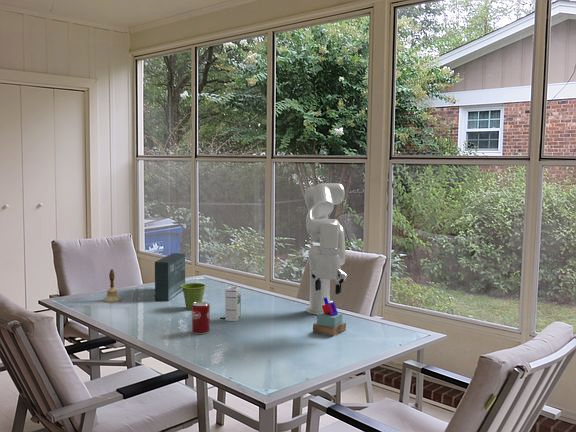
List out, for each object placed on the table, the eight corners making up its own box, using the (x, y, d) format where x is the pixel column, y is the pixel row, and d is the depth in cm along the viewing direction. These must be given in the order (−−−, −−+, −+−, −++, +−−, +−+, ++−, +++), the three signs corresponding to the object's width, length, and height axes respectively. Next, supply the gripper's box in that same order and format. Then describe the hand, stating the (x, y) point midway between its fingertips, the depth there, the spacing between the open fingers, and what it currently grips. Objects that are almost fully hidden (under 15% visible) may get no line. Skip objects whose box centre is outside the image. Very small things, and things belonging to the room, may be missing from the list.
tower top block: (324, 320, 252) (324, 311, 251) (342, 322, 248) (342, 313, 248) (317, 324, 245) (317, 315, 244) (334, 327, 241) (335, 317, 241)
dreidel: (331, 316, 248) (325, 298, 250) (338, 314, 245) (332, 295, 247) (325, 318, 246) (319, 299, 248) (332, 315, 243) (326, 296, 245)
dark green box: (173, 288, 327) (172, 253, 325) (185, 289, 326) (185, 253, 324) (155, 301, 298) (154, 262, 296) (168, 301, 297) (168, 262, 296)
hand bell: (124, 300, 299) (123, 269, 298) (111, 303, 292) (110, 271, 291) (113, 297, 304) (112, 267, 302) (100, 301, 297) (99, 269, 295)
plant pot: (176, 309, 281) (176, 286, 279) (189, 304, 291) (189, 282, 290) (198, 312, 276) (197, 288, 275) (210, 306, 287) (210, 284, 286)
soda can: (195, 335, 240) (195, 306, 239) (189, 330, 246) (189, 302, 245) (212, 333, 243) (212, 304, 242) (206, 328, 250) (206, 300, 248)
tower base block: (325, 328, 254) (325, 319, 254) (345, 332, 248) (345, 322, 248) (312, 333, 246) (312, 324, 246) (333, 337, 240) (333, 328, 240)
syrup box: (237, 321, 261) (237, 289, 260) (224, 320, 262) (224, 288, 261) (241, 318, 267) (241, 286, 265) (228, 317, 268) (228, 286, 267)
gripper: (306, 250, 246) (305, 290, 248) (342, 255, 236) (341, 296, 238) (315, 247, 252) (315, 287, 254) (351, 252, 242) (350, 293, 244)
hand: (327, 291), depth 246 cm, fingers open, 9 cm apart
